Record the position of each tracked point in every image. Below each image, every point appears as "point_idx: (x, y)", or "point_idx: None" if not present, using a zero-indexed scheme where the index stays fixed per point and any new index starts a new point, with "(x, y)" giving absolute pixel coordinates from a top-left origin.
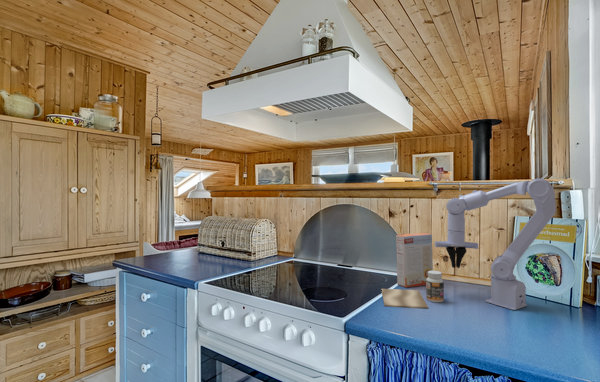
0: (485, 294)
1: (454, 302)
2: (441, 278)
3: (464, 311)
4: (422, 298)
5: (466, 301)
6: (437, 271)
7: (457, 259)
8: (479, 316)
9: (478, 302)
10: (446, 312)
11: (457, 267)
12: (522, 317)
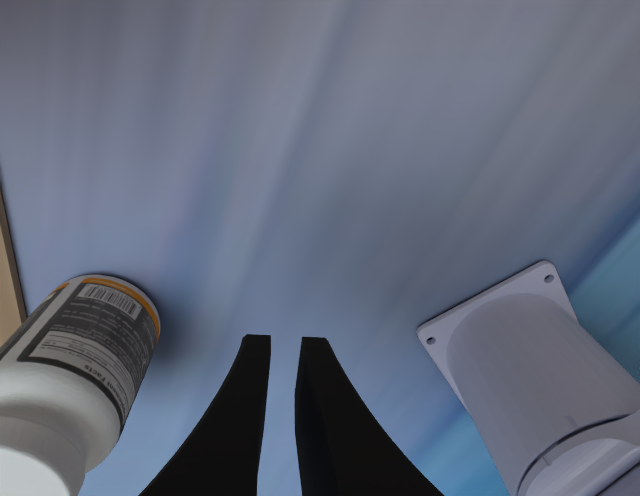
0: (516, 181)
1: (224, 344)
2: (90, 454)
3: None
4: (15, 324)
5: (305, 323)
6: (26, 470)
7: (313, 461)
8: (279, 485)
9: (370, 333)
10: (139, 464)
11: (295, 390)
12: (457, 476)
